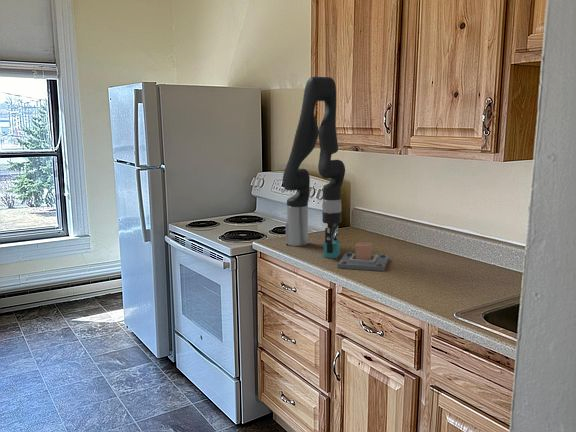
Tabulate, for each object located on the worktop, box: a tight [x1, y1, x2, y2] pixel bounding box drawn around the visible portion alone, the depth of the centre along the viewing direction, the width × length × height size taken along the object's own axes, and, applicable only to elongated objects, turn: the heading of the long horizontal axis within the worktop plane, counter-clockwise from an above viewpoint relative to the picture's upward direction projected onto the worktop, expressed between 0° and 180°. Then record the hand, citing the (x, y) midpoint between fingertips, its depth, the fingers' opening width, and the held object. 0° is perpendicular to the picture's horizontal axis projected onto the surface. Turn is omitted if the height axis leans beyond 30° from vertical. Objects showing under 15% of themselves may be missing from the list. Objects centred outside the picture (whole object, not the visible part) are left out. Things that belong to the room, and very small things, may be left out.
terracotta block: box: [354, 241, 373, 260], centre depth 201 cm, size 6×6×6 cm
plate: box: [336, 251, 389, 272], centre depth 201 cm, size 17×17×2 cm
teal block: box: [323, 239, 341, 259], centre depth 212 cm, size 6×6×6 cm
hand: (331, 250), depth 212 cm, fingers open, 8 cm apart
